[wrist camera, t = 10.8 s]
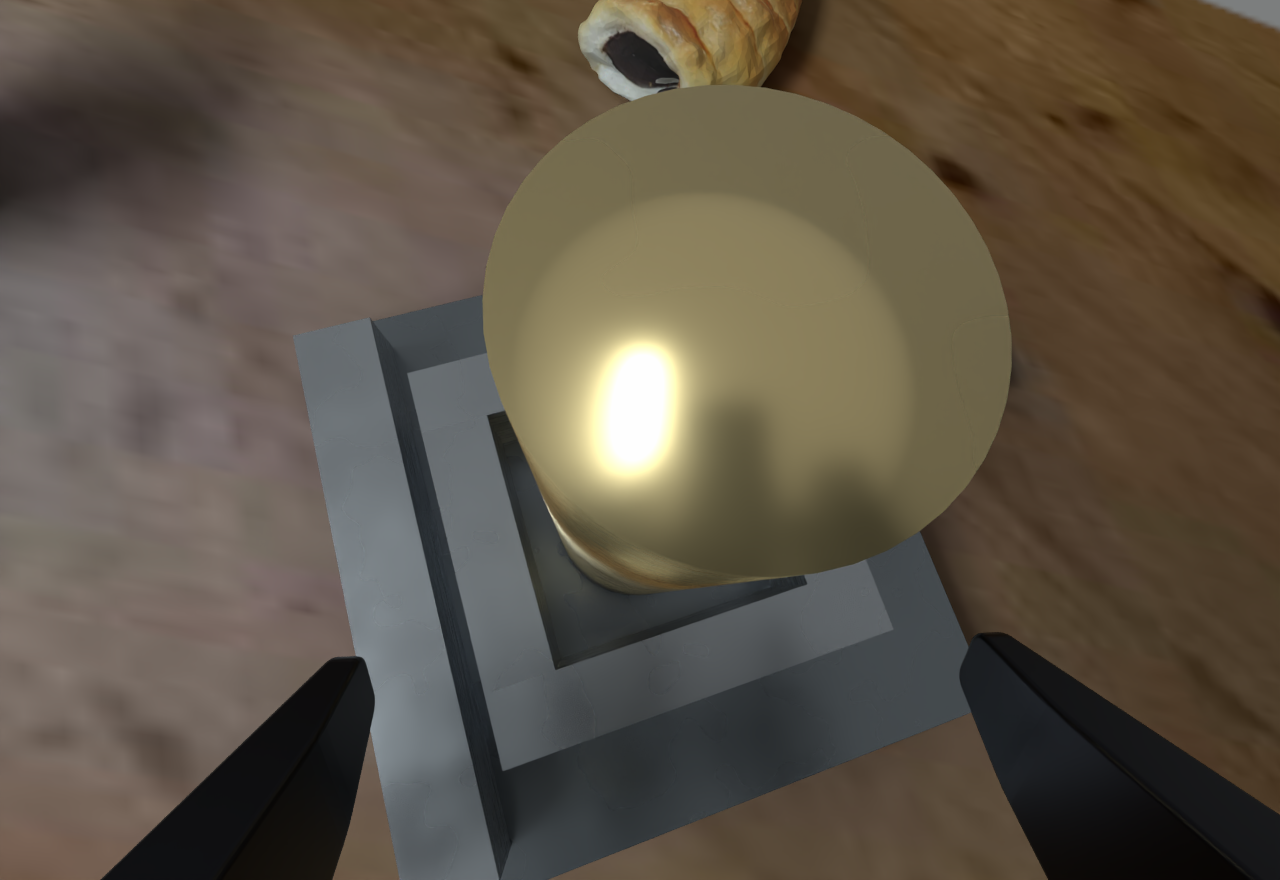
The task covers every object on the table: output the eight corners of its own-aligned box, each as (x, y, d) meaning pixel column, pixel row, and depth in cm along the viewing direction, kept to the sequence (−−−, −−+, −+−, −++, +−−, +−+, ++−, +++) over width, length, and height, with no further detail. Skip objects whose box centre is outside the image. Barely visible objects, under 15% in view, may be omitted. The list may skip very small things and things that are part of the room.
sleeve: (740, 514, 18) (1105, 306, 5) (638, 629, 17) (790, 712, 4) (632, 414, 18) (728, 7, 6) (526, 518, 17) (363, 298, 5)
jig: (960, 695, 18) (1075, 725, 14) (435, 900, 16) (377, 1012, 12) (775, 246, 22) (821, 159, 18) (323, 357, 20) (246, 288, 15)
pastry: (707, -61, 26) (727, -170, 22) (834, 27, 25) (876, -71, 22) (564, 68, 24) (561, -30, 20) (701, 168, 23) (723, 86, 19)
